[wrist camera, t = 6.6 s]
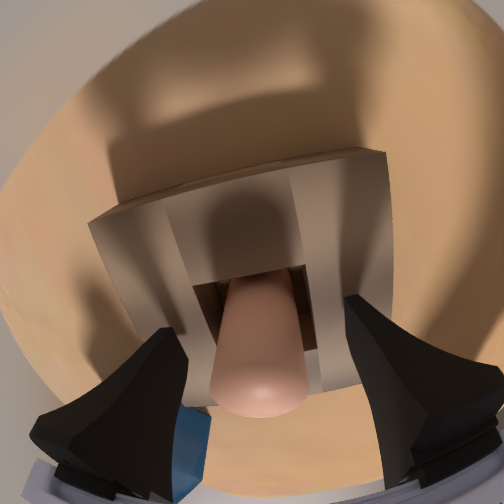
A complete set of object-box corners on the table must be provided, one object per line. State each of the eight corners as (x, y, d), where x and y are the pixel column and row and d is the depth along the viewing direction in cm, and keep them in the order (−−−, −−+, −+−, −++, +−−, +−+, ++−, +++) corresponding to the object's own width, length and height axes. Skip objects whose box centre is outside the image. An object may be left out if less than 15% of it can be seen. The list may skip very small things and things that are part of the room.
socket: (370, 343, 16) (384, 377, 13) (193, 372, 18) (184, 406, 15) (359, 147, 11) (385, 152, 9) (118, 204, 13) (87, 223, 10)
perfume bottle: (149, 380, 18) (104, 519, 7) (211, 417, 20) (193, 545, 9) (118, 402, 20) (77, 510, 9) (171, 433, 22) (149, 537, 11)
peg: (296, 301, 15) (314, 409, 8) (240, 314, 15) (228, 421, 9) (283, 249, 14) (300, 351, 7) (221, 264, 14) (193, 368, 8)
